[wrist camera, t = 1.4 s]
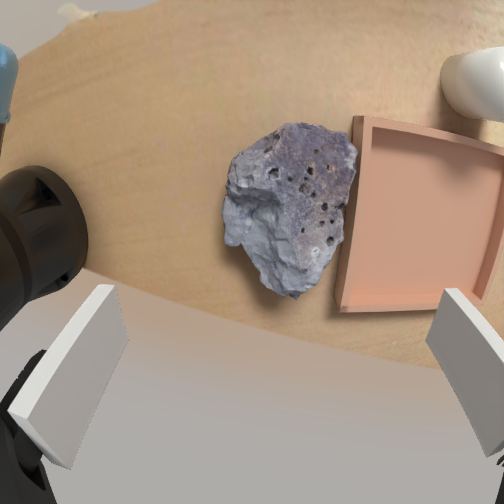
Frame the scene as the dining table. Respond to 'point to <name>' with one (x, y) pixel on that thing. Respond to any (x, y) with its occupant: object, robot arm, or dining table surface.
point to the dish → (419, 218)
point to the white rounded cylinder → (475, 84)
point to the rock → (290, 203)
